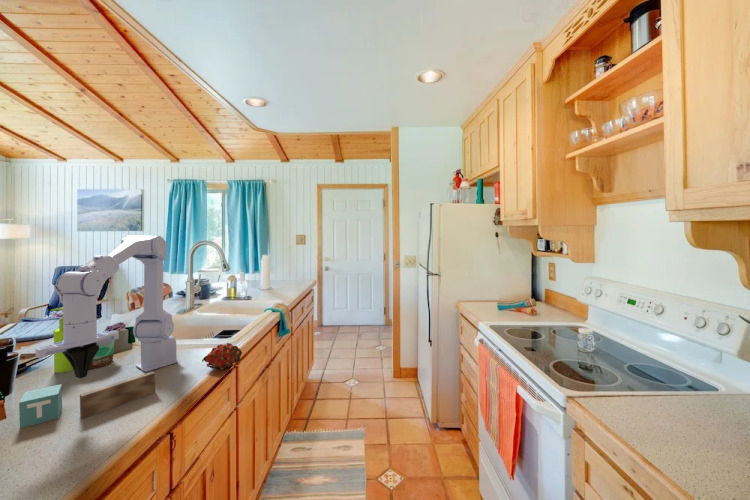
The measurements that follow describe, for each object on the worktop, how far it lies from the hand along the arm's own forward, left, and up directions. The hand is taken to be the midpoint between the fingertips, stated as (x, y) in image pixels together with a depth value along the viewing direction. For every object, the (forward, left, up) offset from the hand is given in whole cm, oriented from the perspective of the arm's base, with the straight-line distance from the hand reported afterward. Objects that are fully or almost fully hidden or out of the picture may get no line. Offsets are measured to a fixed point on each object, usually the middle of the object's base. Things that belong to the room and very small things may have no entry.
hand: (81, 376), depth 72 cm
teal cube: (+5, -7, -10) cm, 13 cm away
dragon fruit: (-34, +2, -10) cm, 35 cm away
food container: (-12, -32, -10) cm, 35 cm away
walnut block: (-7, +1, -9) cm, 12 cm away
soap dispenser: (-5, -38, -10) cm, 39 cm away
